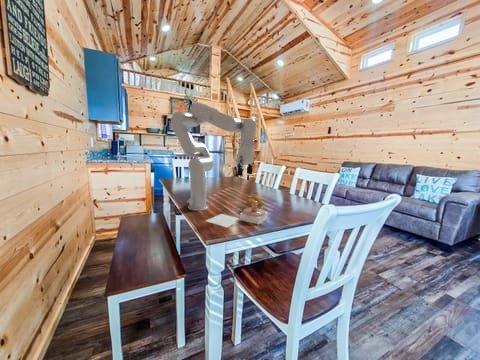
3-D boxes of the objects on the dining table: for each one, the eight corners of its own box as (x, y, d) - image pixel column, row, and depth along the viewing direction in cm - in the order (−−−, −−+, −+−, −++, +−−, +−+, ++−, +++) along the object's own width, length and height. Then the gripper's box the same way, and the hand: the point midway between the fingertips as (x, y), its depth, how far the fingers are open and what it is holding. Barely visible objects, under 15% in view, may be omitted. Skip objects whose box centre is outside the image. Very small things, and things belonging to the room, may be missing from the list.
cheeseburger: (266, 209, 131) (265, 195, 127) (259, 218, 123) (258, 203, 119) (252, 206, 136) (251, 192, 132) (244, 214, 128) (242, 200, 124)
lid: (238, 213, 111) (239, 201, 110) (250, 207, 121) (250, 197, 120) (259, 218, 104) (259, 206, 103) (269, 212, 114) (269, 200, 113)
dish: (239, 220, 112) (240, 213, 111) (250, 214, 121) (250, 208, 120) (258, 225, 106) (258, 217, 105) (267, 219, 115) (268, 212, 114)
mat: (204, 221, 108) (204, 220, 108) (221, 214, 120) (221, 213, 120) (226, 228, 101) (226, 227, 101) (242, 219, 113) (242, 219, 113)
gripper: (249, 142, 120) (247, 172, 123) (232, 142, 106) (229, 175, 109) (261, 143, 116) (258, 174, 119) (244, 143, 102) (241, 177, 105)
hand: (244, 174), depth 114 cm, fingers open, 9 cm apart
